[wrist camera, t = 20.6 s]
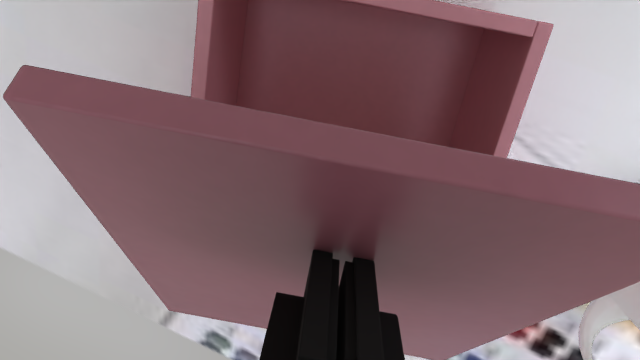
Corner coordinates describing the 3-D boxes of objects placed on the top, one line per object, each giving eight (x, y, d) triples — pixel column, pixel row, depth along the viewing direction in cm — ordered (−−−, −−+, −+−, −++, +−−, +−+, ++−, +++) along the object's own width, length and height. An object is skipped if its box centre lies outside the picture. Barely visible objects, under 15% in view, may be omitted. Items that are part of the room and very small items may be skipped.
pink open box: (242, -33, 23) (201, -46, 17) (495, 18, 23) (554, 24, 17) (213, 229, 29) (174, 296, 22) (418, 268, 29) (440, 346, 22)
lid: (21, 62, 8) (-2, 96, 8) (735, 200, 8) (748, 241, 8) (173, 294, 22) (168, 310, 22) (442, 344, 22) (441, 361, 22)
